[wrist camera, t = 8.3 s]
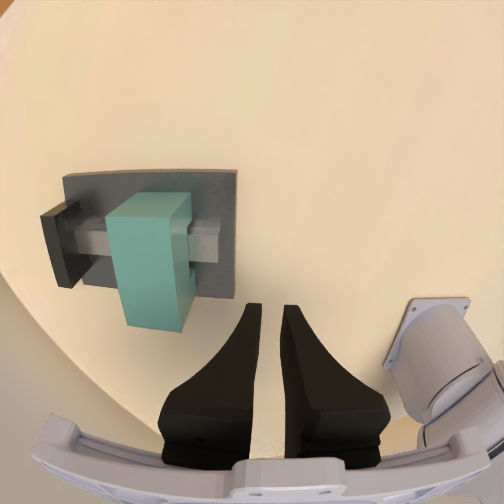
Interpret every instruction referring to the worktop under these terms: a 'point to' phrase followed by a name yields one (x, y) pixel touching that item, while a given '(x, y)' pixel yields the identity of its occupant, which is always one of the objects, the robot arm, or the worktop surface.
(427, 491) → the robot arm
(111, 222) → the block
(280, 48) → the worktop surface
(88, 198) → the rail base
